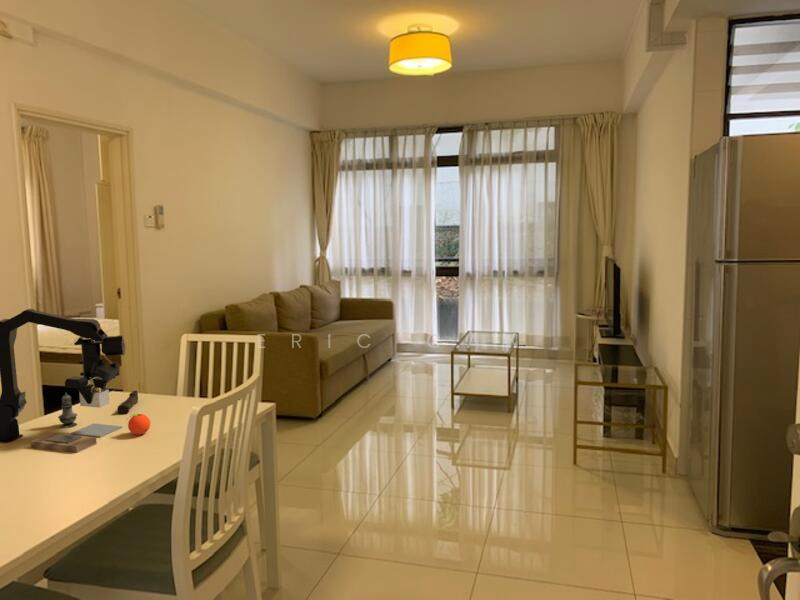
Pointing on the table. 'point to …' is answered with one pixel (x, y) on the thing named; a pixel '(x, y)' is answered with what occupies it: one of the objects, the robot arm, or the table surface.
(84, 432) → the rubber mat
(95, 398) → the lever cap
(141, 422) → the tomato
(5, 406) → the robot arm
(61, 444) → the body
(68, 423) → the weathered candle holder
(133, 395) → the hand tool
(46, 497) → the table surface
